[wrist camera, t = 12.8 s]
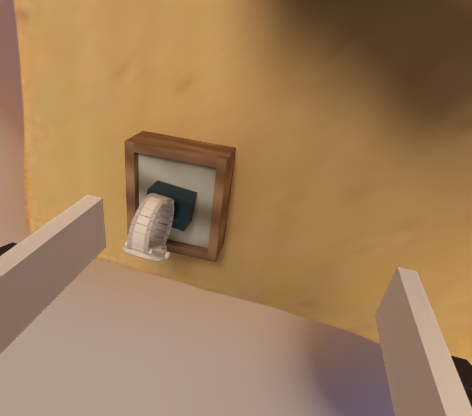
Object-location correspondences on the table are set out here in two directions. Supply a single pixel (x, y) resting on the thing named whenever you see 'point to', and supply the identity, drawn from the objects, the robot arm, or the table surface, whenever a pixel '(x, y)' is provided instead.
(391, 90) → the table surface
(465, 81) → the table surface
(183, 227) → the watch
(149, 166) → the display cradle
